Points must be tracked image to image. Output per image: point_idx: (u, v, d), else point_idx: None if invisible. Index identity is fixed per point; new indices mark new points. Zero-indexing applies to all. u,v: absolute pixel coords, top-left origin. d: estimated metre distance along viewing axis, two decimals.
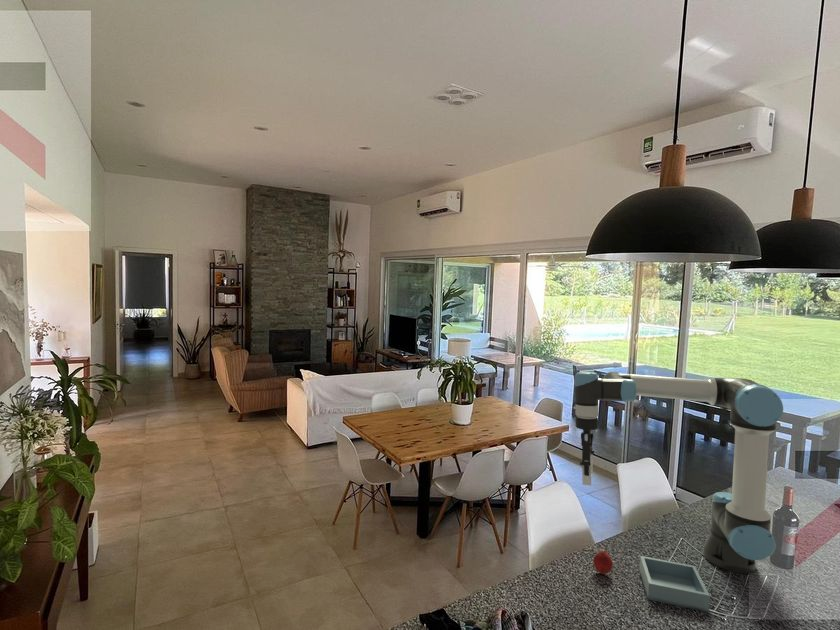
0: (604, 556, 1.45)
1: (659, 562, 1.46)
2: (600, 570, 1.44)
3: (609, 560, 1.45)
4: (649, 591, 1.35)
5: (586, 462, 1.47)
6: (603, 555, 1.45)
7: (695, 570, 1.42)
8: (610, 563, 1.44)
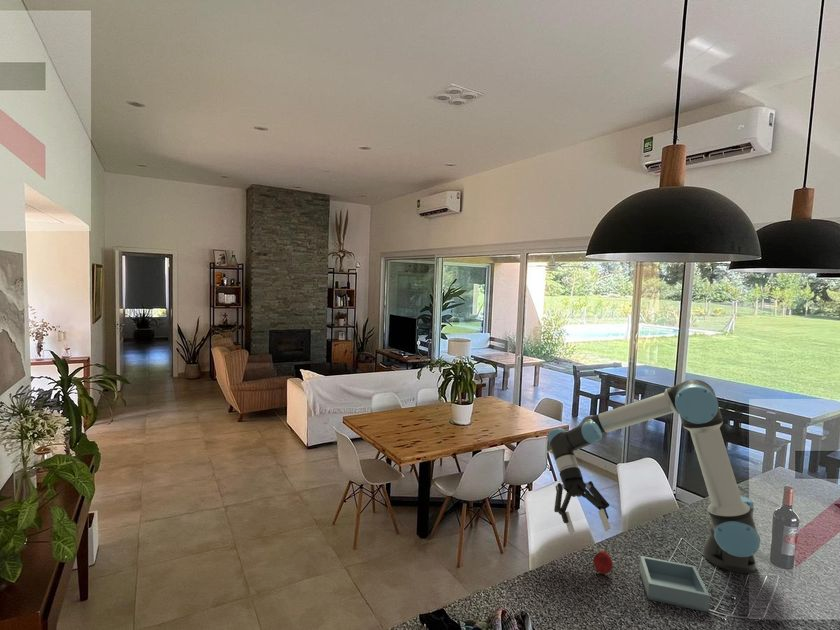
0: (604, 556, 1.45)
1: (659, 562, 1.46)
2: (600, 570, 1.44)
3: (609, 560, 1.45)
4: (649, 591, 1.35)
5: (556, 508, 1.55)
6: (603, 555, 1.45)
7: (695, 570, 1.42)
8: (610, 563, 1.44)
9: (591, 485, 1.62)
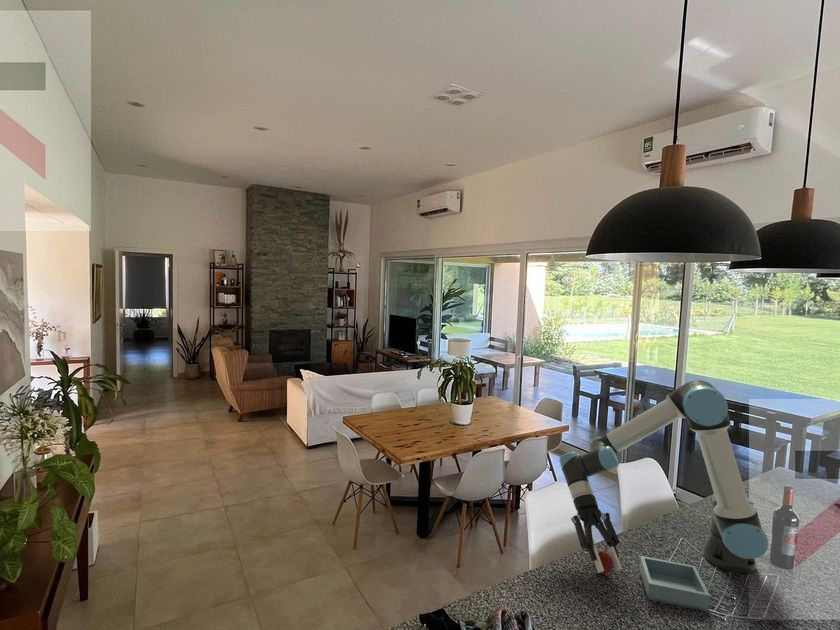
0: (604, 556, 1.45)
1: (659, 562, 1.46)
2: None
3: (609, 560, 1.45)
4: (649, 591, 1.35)
5: (583, 545, 1.46)
6: (603, 555, 1.45)
7: (695, 570, 1.42)
8: (610, 563, 1.44)
9: (607, 517, 1.53)
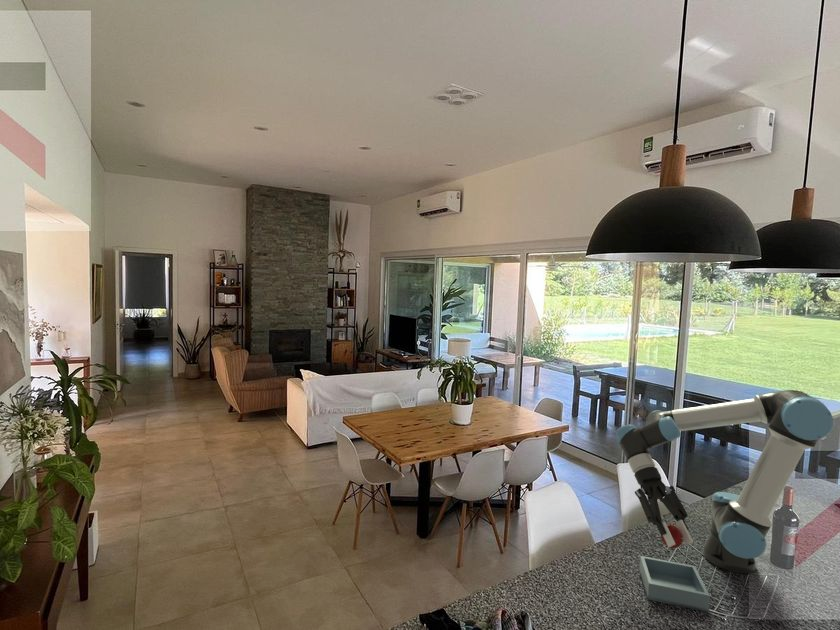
0: (673, 529, 1.38)
1: (659, 562, 1.46)
2: None
3: (679, 534, 1.37)
4: (649, 591, 1.35)
5: (650, 518, 1.39)
6: (672, 529, 1.38)
7: (695, 570, 1.42)
8: (680, 536, 1.37)
9: (672, 490, 1.46)
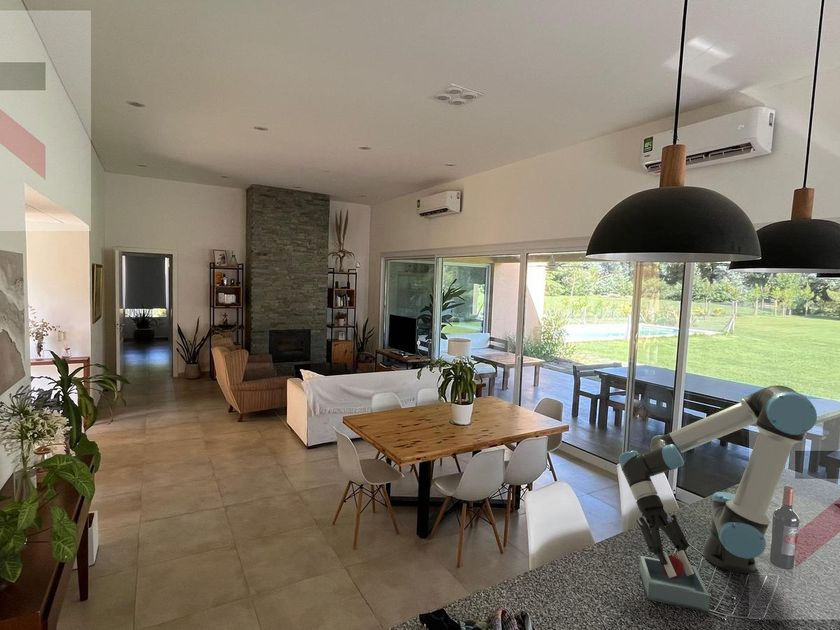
0: (675, 560, 1.38)
1: (659, 562, 1.46)
2: None
3: (680, 564, 1.38)
4: (649, 591, 1.35)
5: (651, 548, 1.40)
6: (674, 559, 1.38)
7: (695, 570, 1.42)
8: (681, 567, 1.37)
9: (673, 519, 1.46)
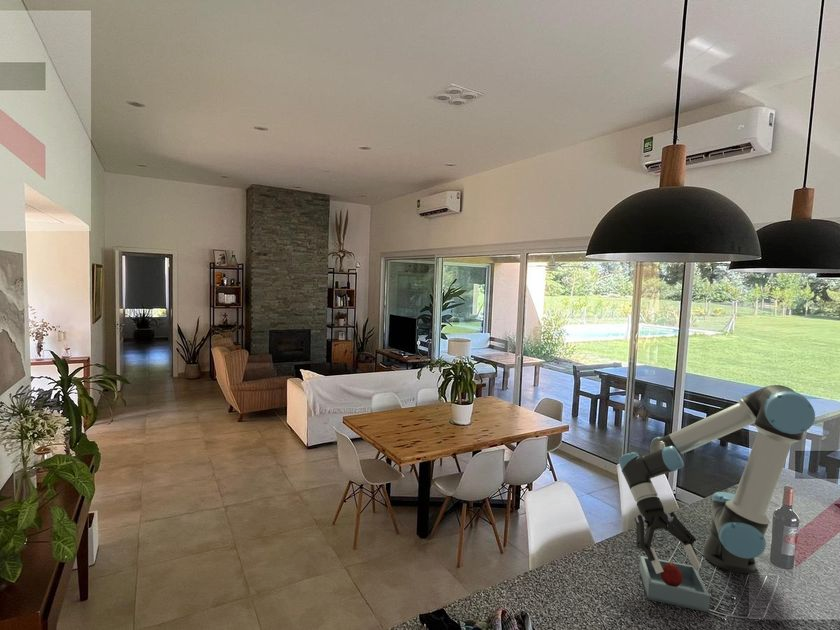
0: (673, 569, 1.38)
1: None
2: (670, 584, 1.37)
3: (679, 573, 1.37)
4: (649, 591, 1.35)
5: (639, 544, 1.40)
6: (672, 568, 1.38)
7: (695, 570, 1.42)
8: (680, 576, 1.37)
9: (673, 517, 1.47)
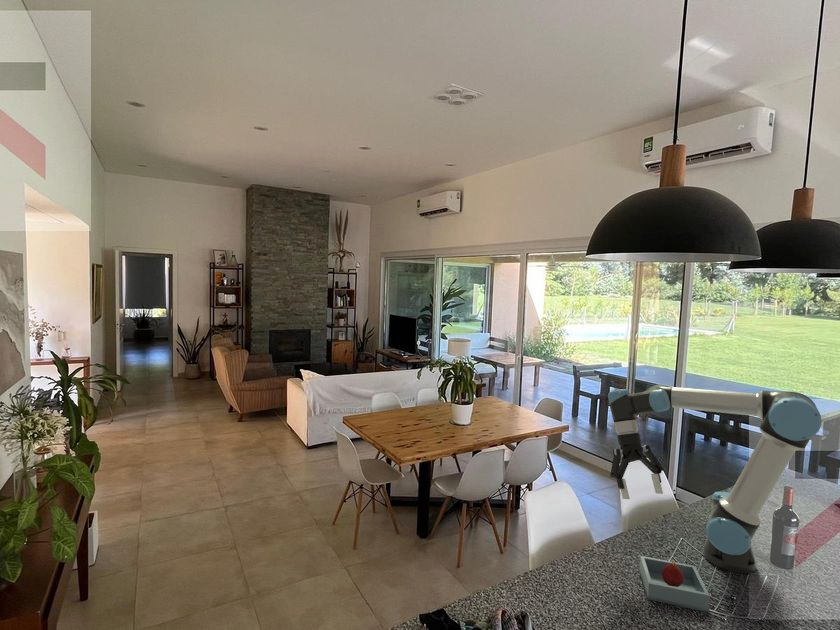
0: (675, 569, 1.38)
1: (659, 562, 1.46)
2: (671, 584, 1.37)
3: (681, 574, 1.38)
4: (649, 591, 1.35)
5: (613, 474, 1.56)
6: (674, 568, 1.38)
7: (695, 570, 1.42)
8: (681, 576, 1.37)
9: (648, 449, 1.61)
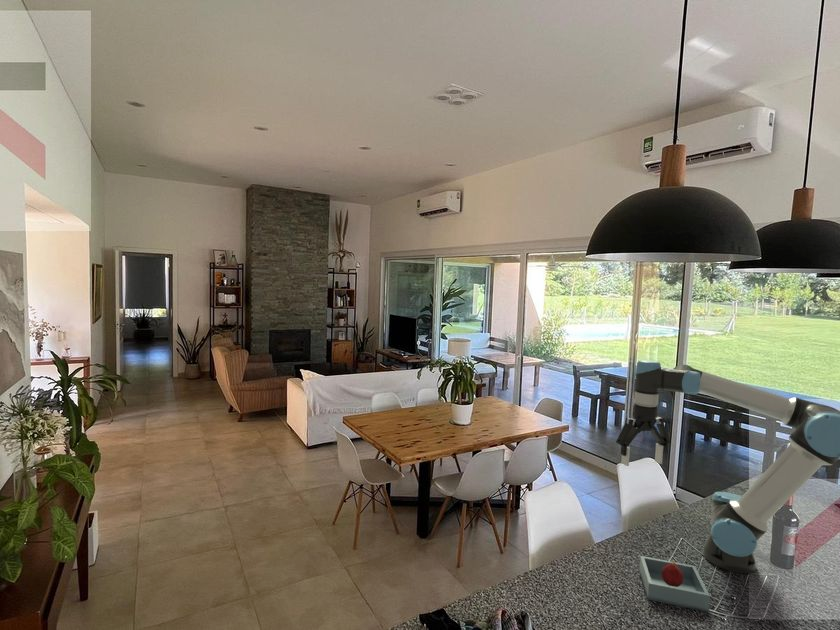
0: (674, 569, 1.38)
1: (659, 562, 1.46)
2: (670, 584, 1.37)
3: (680, 573, 1.38)
4: (649, 591, 1.35)
5: (619, 442, 1.56)
6: (673, 568, 1.38)
7: (695, 570, 1.42)
8: (681, 576, 1.37)
9: (661, 422, 1.59)
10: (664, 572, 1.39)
